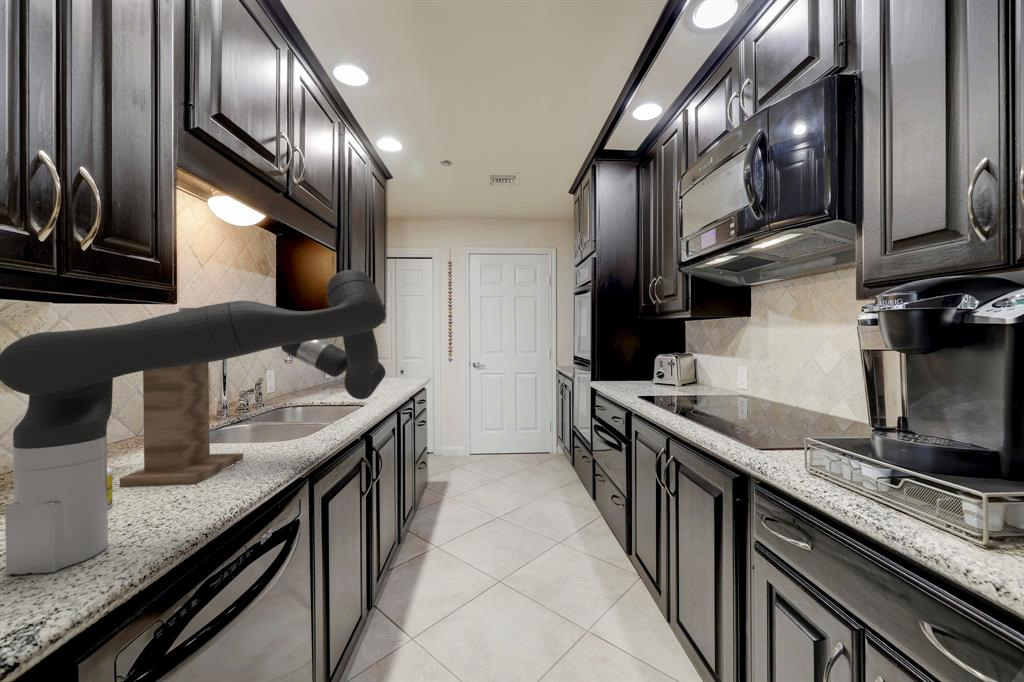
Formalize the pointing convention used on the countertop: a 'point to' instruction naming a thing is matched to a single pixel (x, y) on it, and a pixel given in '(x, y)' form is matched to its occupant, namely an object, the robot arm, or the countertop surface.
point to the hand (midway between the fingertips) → (245, 313)
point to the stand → (177, 429)
